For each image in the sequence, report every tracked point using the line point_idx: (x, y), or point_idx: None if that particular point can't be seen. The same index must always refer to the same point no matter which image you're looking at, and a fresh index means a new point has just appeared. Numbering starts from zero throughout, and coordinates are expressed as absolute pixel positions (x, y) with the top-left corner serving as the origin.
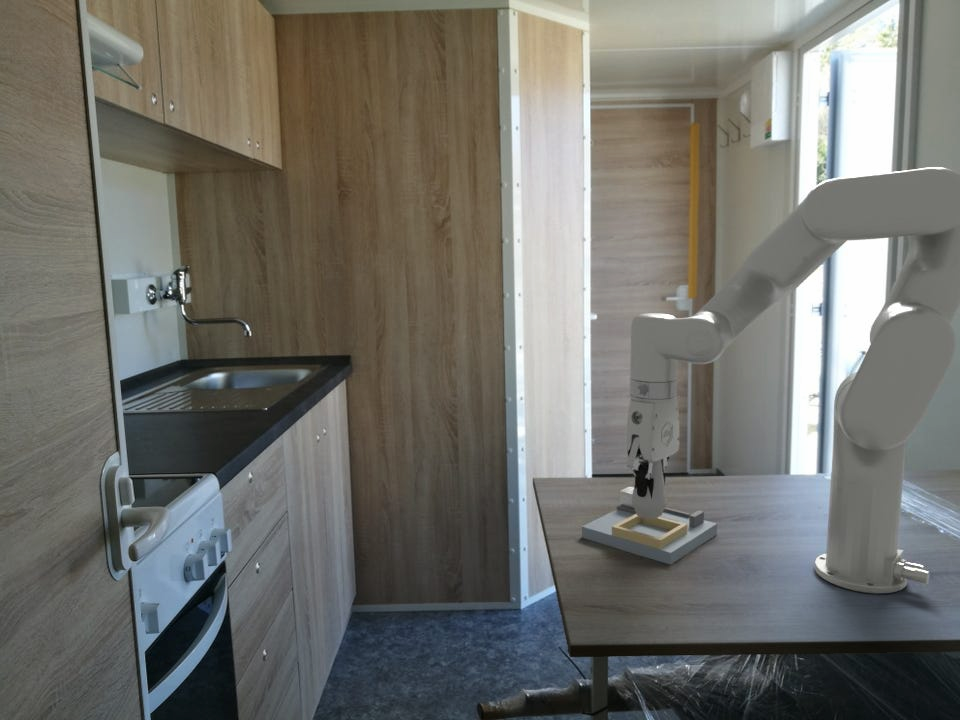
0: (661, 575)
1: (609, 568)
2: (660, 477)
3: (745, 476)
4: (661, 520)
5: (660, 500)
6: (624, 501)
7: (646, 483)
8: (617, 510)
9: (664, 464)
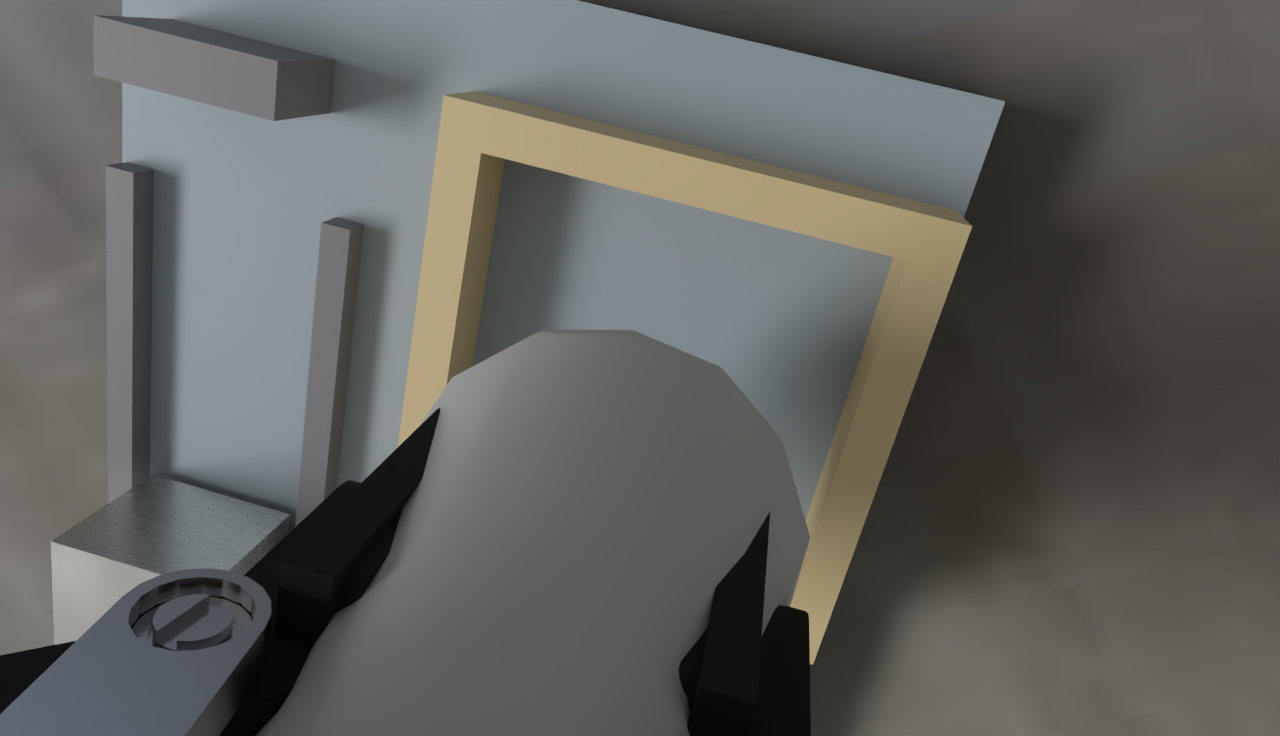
0: (1226, 106)
1: (1216, 493)
2: (538, 593)
3: None
4: (456, 341)
5: (692, 404)
6: None
7: (781, 725)
8: None
9: (170, 691)
